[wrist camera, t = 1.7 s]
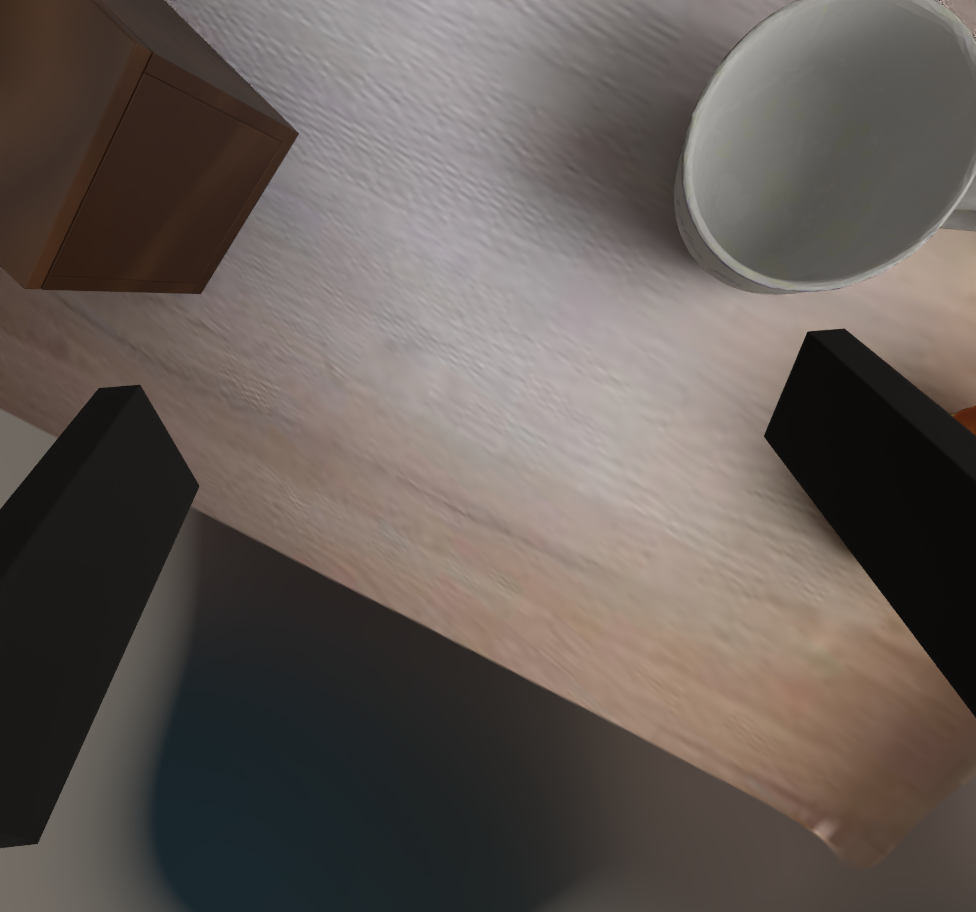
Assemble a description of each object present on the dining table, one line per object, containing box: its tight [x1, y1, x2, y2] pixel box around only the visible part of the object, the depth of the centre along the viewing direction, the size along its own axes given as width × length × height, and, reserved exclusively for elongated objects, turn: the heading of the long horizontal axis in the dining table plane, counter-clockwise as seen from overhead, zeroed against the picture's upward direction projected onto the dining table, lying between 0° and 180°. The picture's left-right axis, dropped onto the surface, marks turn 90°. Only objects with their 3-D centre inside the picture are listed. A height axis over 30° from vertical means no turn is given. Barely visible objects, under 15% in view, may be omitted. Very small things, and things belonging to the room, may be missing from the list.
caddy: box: [41, 0, 299, 294], centre depth 29 cm, size 14×13×11 cm
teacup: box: [674, 0, 976, 295], centre depth 24 cm, size 14×11×8 cm
